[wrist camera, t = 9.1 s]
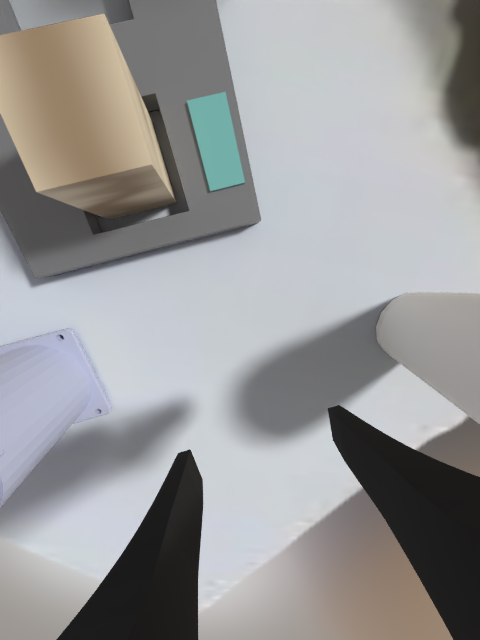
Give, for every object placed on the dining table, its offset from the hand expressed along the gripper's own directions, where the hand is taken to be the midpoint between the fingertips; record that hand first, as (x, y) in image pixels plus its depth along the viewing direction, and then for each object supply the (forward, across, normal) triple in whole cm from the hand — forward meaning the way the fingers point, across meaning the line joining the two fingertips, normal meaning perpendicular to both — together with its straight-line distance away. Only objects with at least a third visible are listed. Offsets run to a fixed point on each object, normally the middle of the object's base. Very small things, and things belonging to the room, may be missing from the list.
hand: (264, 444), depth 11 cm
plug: (+10, +4, -16) cm, 19 cm away
